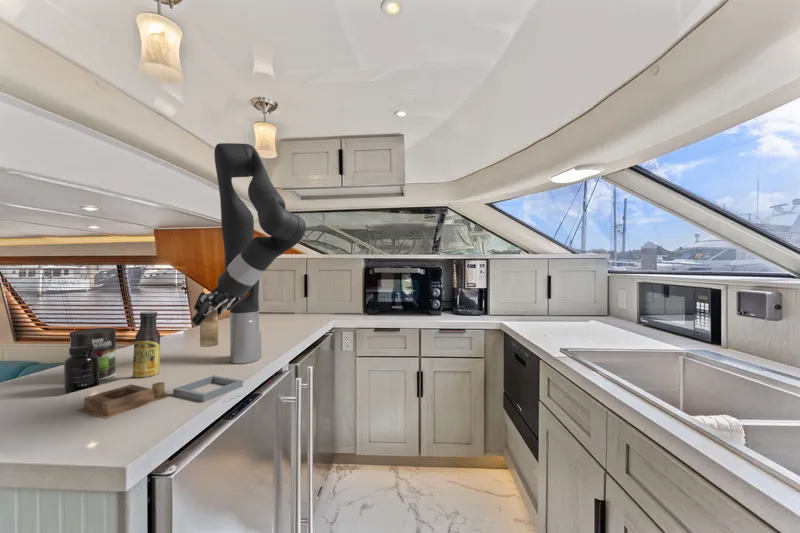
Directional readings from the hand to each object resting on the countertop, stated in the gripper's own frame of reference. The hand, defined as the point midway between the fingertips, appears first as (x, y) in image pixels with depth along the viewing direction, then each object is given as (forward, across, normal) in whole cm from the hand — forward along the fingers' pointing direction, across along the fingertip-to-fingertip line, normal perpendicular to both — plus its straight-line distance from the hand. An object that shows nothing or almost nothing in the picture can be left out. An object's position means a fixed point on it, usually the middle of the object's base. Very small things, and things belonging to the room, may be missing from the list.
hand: (202, 321), depth 86 cm
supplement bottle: (+38, +4, -11) cm, 40 cm away
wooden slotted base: (+21, +10, +6) cm, 24 cm away
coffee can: (+44, -4, -17) cm, 48 cm away
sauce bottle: (+32, -6, -5) cm, 33 cm away
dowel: (+3, 0, +6) cm, 6 cm away
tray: (+12, 0, +15) cm, 19 cm away
